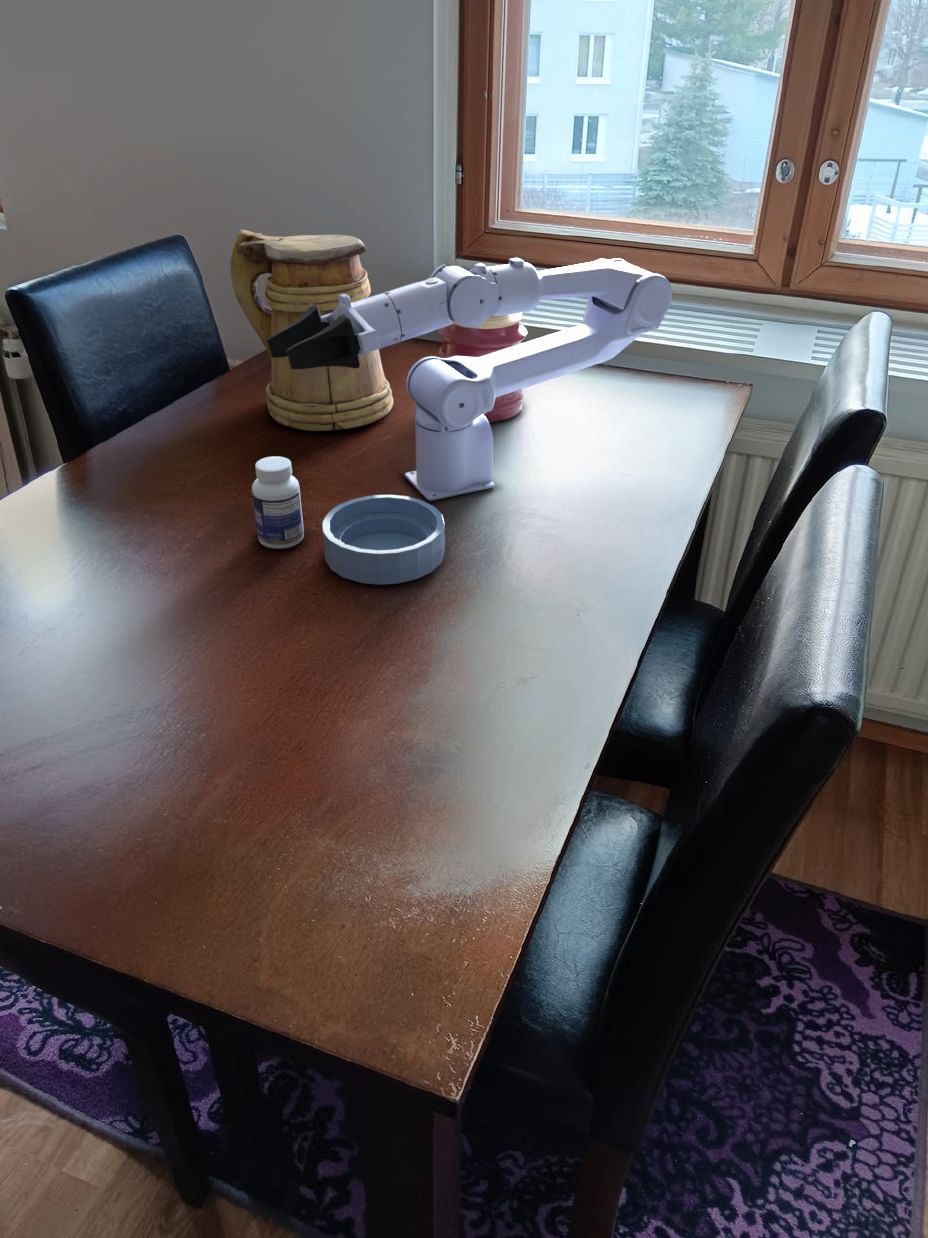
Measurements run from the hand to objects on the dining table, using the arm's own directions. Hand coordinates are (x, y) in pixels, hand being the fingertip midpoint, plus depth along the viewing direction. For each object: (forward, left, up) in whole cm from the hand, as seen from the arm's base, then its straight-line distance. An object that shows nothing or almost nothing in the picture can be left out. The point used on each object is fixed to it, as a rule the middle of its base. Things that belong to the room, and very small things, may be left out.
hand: (279, 354), depth 107 cm
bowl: (-6, +13, -20) cm, 25 cm away
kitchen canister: (-36, -22, -21) cm, 47 cm away
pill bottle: (+3, +4, -21) cm, 21 cm away
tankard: (-13, -32, -21) cm, 40 cm away
